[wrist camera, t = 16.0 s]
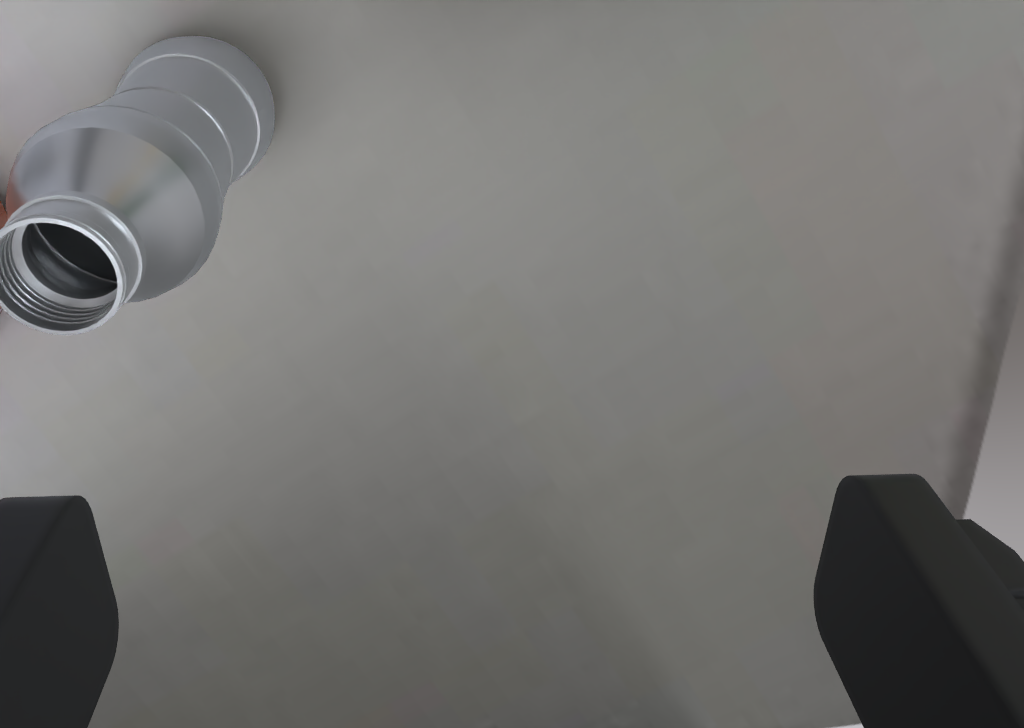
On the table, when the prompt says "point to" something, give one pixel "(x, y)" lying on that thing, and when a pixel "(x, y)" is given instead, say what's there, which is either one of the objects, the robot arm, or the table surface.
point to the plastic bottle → (131, 185)
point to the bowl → (2, 224)
